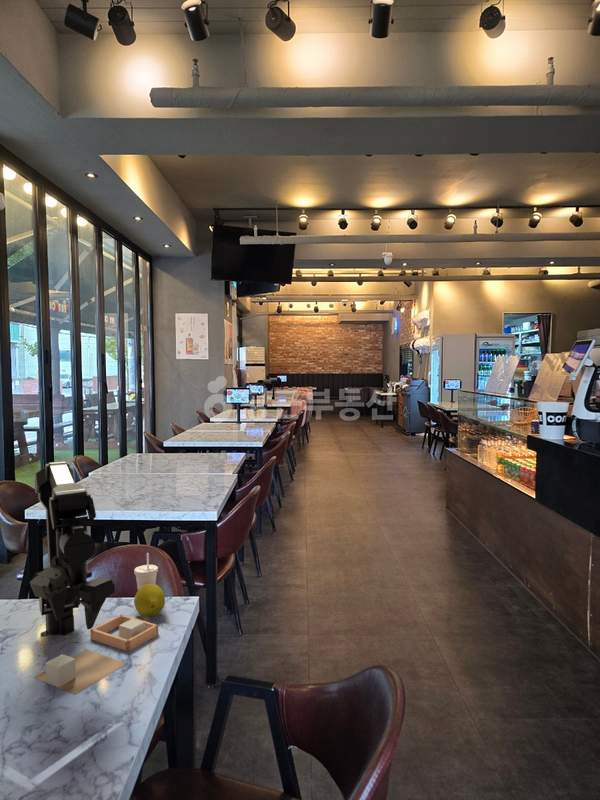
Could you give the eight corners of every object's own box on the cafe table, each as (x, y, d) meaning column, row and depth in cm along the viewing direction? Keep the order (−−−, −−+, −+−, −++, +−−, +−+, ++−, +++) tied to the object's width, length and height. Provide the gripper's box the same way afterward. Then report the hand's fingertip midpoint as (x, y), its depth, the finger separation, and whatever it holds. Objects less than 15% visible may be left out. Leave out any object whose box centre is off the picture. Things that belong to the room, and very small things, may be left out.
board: (33, 681, 111) (33, 677, 111) (86, 653, 123) (86, 649, 123) (75, 699, 105) (75, 694, 105) (127, 668, 116) (126, 663, 116)
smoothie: (151, 608, 146) (150, 557, 146) (130, 606, 148) (129, 555, 147) (162, 599, 153) (162, 550, 152) (142, 597, 154) (141, 548, 154)
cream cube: (119, 642, 127) (119, 625, 127) (132, 634, 130) (132, 618, 130) (131, 646, 125) (131, 629, 125) (144, 638, 128) (144, 622, 128)
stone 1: (45, 682, 109) (45, 663, 109) (63, 672, 113) (62, 654, 113) (58, 687, 107) (58, 668, 107) (75, 677, 111) (75, 658, 111)
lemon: (136, 608, 147) (135, 579, 146) (165, 605, 148) (165, 577, 148) (132, 626, 136) (131, 595, 136) (164, 623, 138) (163, 592, 137)
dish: (90, 643, 128) (90, 629, 128) (121, 626, 136) (121, 614, 136) (128, 655, 122) (127, 641, 121) (158, 638, 130) (158, 624, 130)
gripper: (6, 555, 109) (9, 631, 110) (70, 568, 100) (72, 651, 101) (54, 540, 119) (56, 610, 119) (115, 551, 110) (118, 626, 111)
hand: (74, 624), depth 112 cm, fingers open, 9 cm apart
